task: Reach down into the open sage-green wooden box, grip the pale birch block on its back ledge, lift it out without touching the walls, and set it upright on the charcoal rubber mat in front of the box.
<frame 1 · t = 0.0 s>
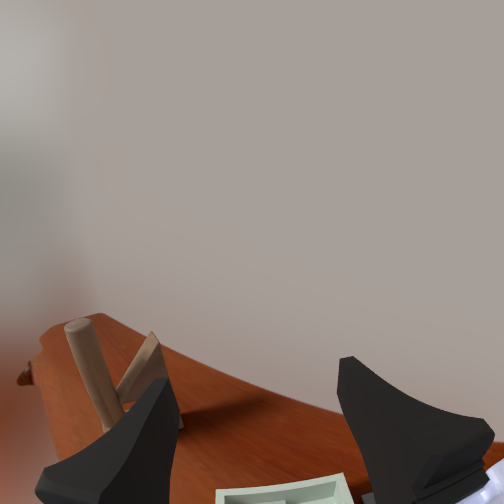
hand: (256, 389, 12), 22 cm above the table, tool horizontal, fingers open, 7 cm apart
wooden block: (146, 433, 34), on the table
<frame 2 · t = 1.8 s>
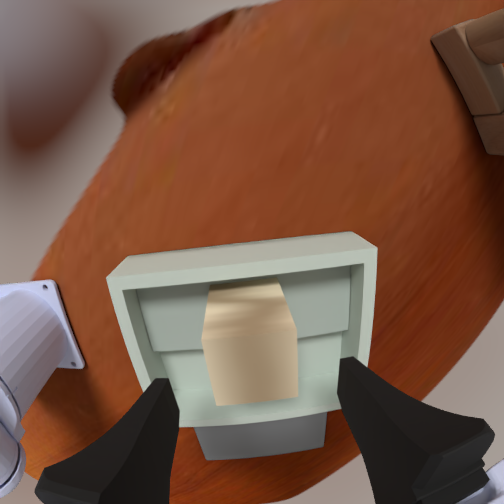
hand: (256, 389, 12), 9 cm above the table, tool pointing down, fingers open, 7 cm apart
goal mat: (261, 430, 25), on the table
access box: (248, 325, 21), on the table
wooden block: (470, 90, 17), on the table
birch block: (246, 311, 19), point 2 cm above the table, touching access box
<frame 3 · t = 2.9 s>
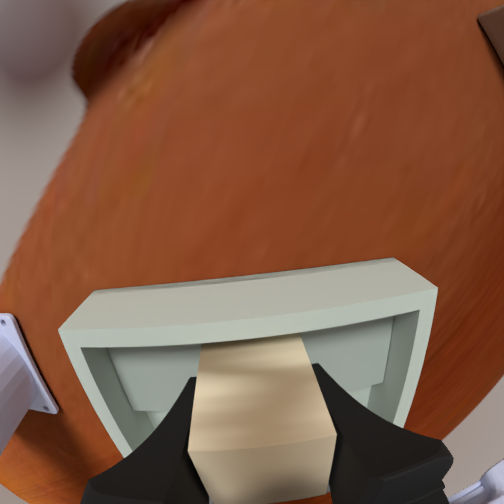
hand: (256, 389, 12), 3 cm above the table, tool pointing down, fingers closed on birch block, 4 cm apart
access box: (255, 377, 16), on the table
birch block: (254, 369, 13), point 2 cm above the table, touching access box, gripper
when the fingers open (3 cm above the table, at t = 7.3 s): birch block stays where it is, resting on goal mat.
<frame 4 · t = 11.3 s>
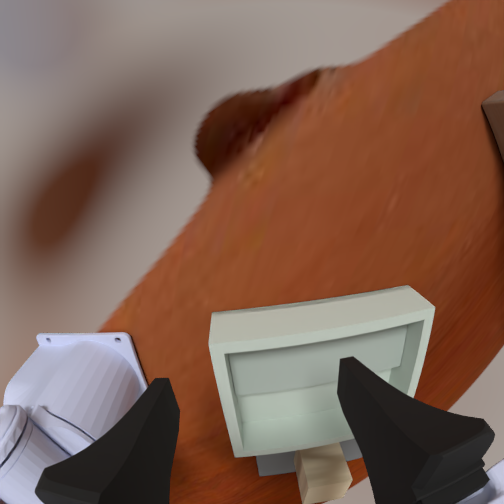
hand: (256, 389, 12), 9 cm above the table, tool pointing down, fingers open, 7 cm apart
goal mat: (313, 448, 26), on the table
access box: (317, 365, 23), on the table
birch block: (314, 448, 26), resting on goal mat
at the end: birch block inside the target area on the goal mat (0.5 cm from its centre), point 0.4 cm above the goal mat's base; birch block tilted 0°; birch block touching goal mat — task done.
